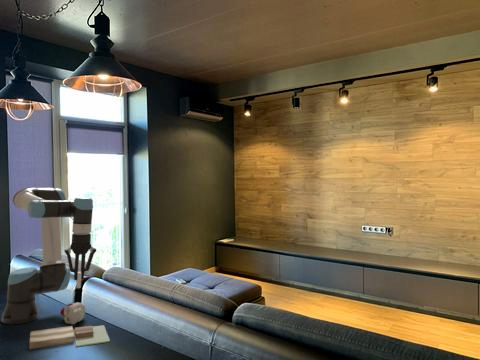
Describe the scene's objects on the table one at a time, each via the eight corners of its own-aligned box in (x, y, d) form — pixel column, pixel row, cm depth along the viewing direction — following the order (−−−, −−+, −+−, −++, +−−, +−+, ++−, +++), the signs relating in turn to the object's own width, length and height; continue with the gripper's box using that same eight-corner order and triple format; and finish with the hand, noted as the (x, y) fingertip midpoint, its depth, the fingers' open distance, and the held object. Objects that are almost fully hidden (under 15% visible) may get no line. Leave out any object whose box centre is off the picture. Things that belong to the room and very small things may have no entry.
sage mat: (73, 330, 160) (73, 329, 160) (103, 326, 167) (103, 325, 167) (76, 347, 145) (76, 345, 145) (109, 341, 151) (109, 340, 151)
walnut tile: (74, 332, 157) (74, 327, 157) (91, 330, 161) (92, 325, 161) (75, 338, 151) (75, 333, 151) (93, 336, 154) (93, 331, 154)
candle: (76, 326, 163) (51, 325, 168) (94, 318, 174) (70, 317, 179) (75, 306, 164) (50, 305, 169) (93, 299, 174) (69, 299, 179)
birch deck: (30, 337, 152) (30, 331, 152) (72, 331, 159) (72, 325, 159) (29, 349, 141) (29, 342, 141) (73, 342, 149) (74, 336, 149)
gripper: (66, 234, 149) (62, 291, 149) (99, 234, 156) (95, 288, 156) (64, 232, 156) (61, 286, 156) (96, 231, 163) (92, 283, 163)
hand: (78, 287), depth 156 cm, fingers closed
